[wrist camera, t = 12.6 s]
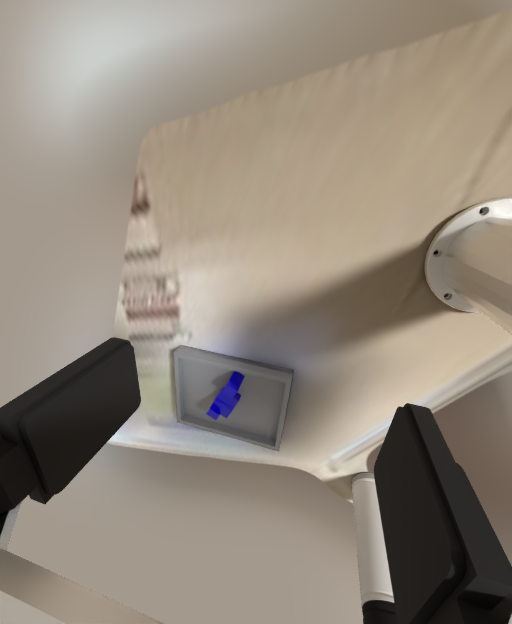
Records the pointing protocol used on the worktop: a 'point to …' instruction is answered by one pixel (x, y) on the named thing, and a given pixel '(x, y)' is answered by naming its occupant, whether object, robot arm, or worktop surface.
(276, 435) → the tray
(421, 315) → the worktop surface
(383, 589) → the travel mug
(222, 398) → the cable holder
